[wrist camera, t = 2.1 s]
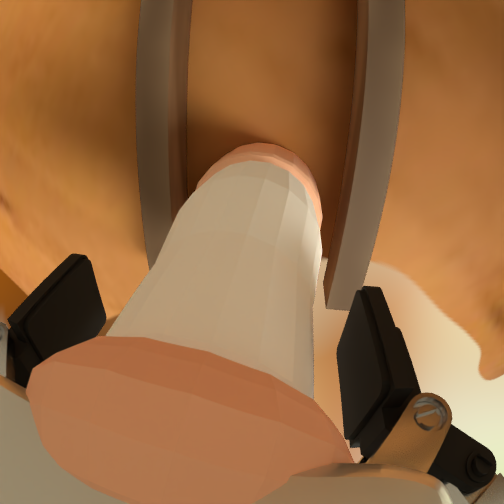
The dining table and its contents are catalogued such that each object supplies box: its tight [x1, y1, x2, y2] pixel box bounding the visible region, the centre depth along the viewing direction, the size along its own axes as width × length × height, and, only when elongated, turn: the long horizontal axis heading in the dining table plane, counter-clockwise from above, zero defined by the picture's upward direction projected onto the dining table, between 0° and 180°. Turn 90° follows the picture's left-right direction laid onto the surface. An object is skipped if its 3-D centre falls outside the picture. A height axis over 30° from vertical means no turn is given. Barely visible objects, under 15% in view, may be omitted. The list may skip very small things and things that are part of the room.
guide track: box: [136, 0, 405, 311], centre depth 14 cm, size 14×24×5 cm, turn 177°
